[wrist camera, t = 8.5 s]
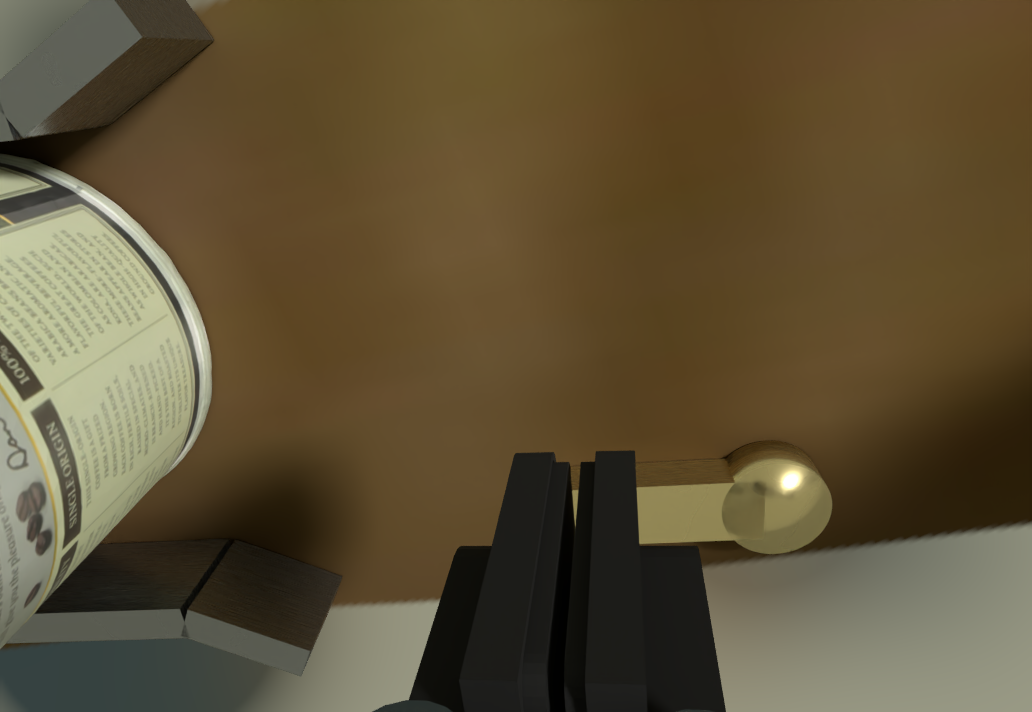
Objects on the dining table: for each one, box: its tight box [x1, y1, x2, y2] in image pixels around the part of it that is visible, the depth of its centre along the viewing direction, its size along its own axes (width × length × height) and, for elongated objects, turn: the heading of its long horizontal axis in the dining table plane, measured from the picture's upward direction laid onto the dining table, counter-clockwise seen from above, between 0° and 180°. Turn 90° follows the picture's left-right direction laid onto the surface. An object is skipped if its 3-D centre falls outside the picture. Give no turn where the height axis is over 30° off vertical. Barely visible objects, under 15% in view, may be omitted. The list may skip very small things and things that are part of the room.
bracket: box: [0, 0, 342, 676], centre depth 18 cm, size 13×17×4 cm
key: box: [571, 441, 832, 554], centre depth 19 cm, size 7×3×1 cm, turn 96°
